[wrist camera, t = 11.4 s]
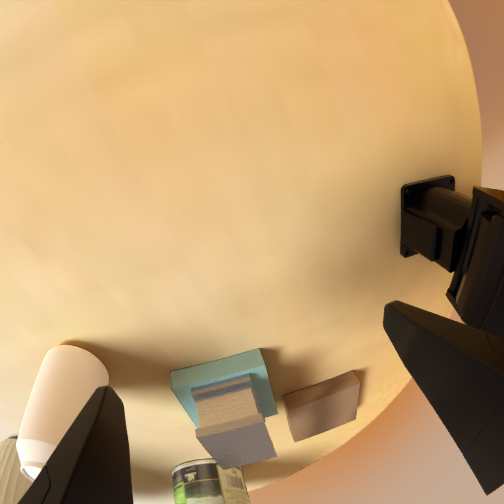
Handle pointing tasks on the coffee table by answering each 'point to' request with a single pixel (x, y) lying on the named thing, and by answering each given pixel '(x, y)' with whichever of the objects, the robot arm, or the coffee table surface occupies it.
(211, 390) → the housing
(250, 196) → the coffee table surface
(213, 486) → the coffee can
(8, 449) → the canister
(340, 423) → the brown flat square block
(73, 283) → the coffee table surface
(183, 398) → the stand
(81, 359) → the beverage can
